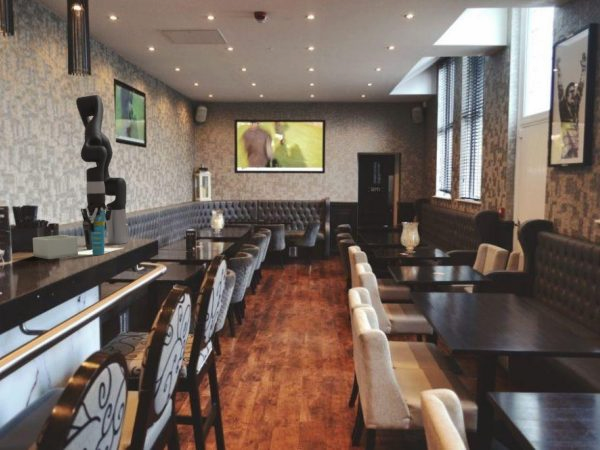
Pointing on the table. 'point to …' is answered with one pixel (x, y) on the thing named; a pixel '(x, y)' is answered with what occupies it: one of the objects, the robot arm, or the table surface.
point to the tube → (98, 234)
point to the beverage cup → (87, 235)
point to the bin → (55, 246)
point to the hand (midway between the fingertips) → (97, 230)
